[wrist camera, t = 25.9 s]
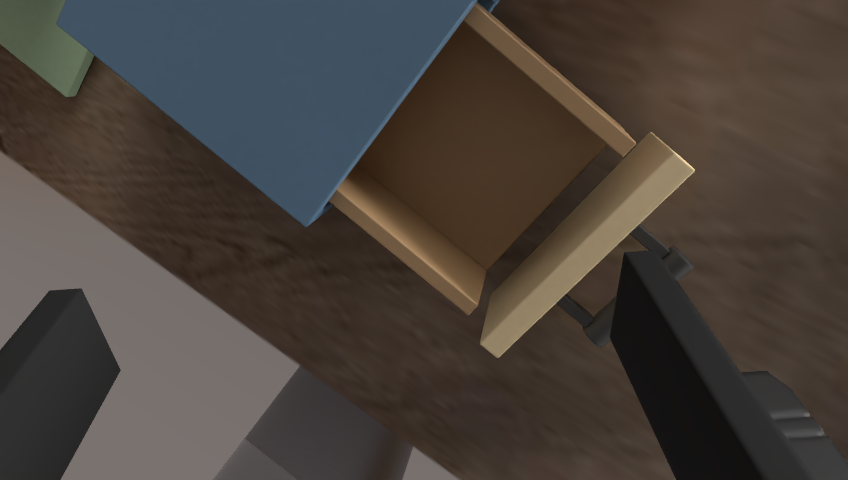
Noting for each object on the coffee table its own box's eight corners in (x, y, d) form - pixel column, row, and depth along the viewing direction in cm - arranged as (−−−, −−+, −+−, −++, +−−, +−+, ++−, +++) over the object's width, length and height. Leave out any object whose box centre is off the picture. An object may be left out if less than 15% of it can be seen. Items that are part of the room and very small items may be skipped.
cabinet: (507, -10, 28) (494, -27, 21) (355, 189, 34) (305, 228, 27) (279, -207, 28) (188, -292, 21) (160, 28, 33) (54, 24, 26)
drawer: (728, 198, 29) (770, 234, 23) (558, 351, 33) (560, 411, 28) (462, -32, 28) (442, -49, 22) (325, 159, 32) (281, 183, 27)
